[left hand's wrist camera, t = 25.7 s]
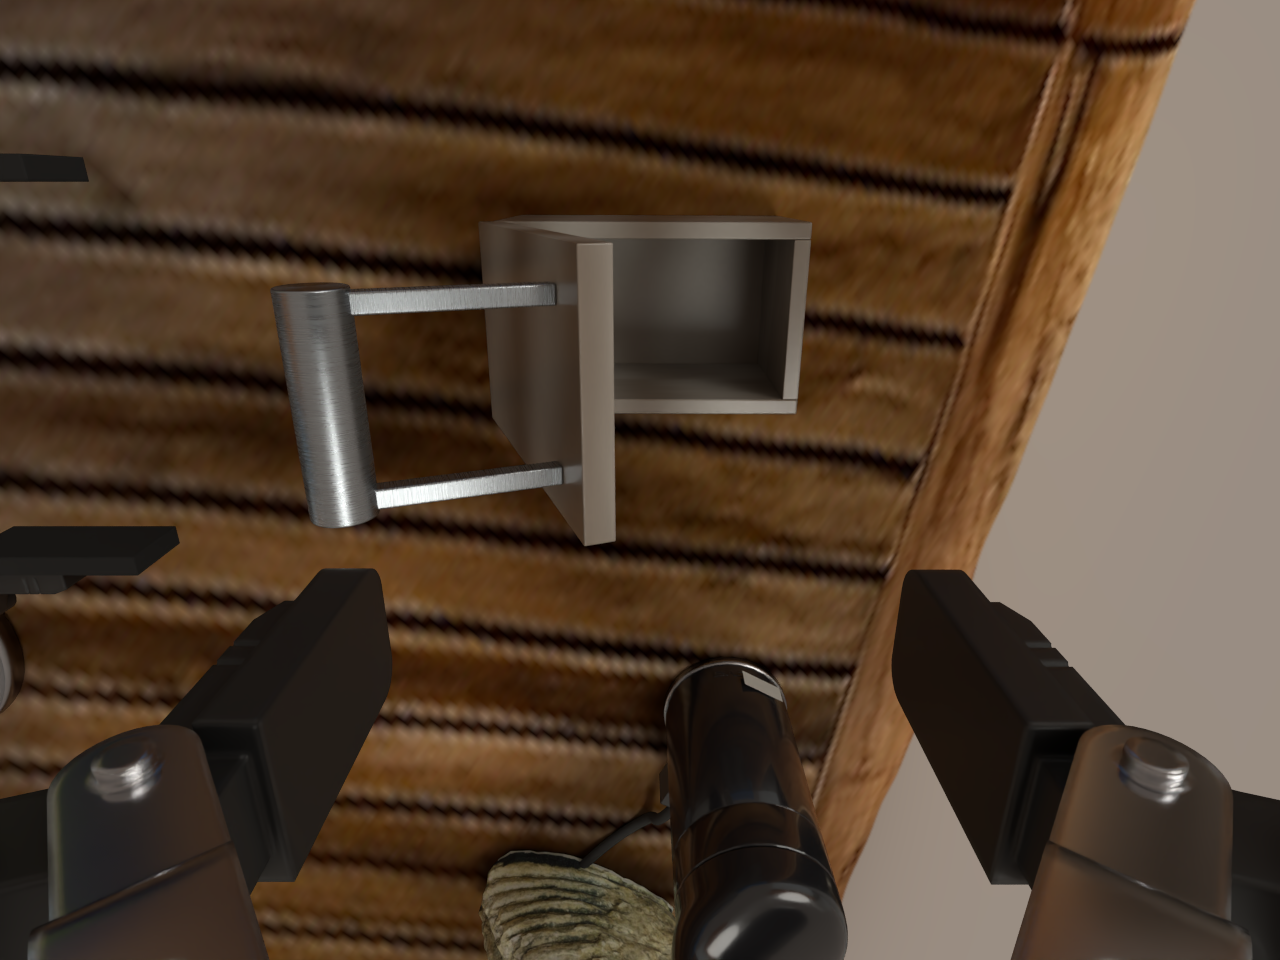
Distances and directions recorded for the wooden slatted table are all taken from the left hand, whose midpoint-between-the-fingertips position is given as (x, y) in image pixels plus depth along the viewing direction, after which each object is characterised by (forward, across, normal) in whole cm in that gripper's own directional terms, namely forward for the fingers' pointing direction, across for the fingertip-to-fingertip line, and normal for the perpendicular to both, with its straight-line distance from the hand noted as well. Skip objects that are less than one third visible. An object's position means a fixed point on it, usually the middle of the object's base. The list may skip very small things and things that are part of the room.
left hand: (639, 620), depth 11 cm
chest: (+38, -1, 0) cm, 38 cm away
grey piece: (+20, +4, 0) cm, 20 cm away
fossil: (+38, +4, +51) cm, 64 cm away
